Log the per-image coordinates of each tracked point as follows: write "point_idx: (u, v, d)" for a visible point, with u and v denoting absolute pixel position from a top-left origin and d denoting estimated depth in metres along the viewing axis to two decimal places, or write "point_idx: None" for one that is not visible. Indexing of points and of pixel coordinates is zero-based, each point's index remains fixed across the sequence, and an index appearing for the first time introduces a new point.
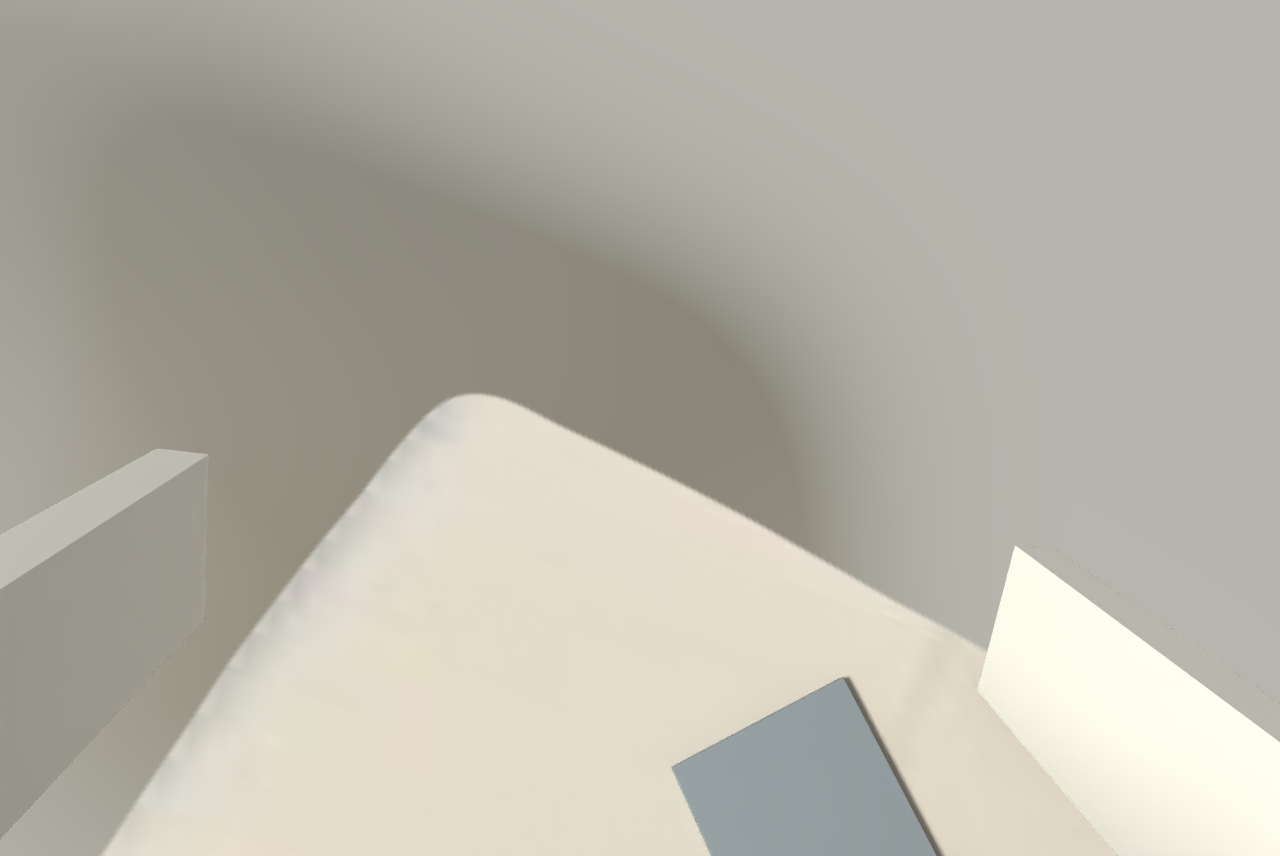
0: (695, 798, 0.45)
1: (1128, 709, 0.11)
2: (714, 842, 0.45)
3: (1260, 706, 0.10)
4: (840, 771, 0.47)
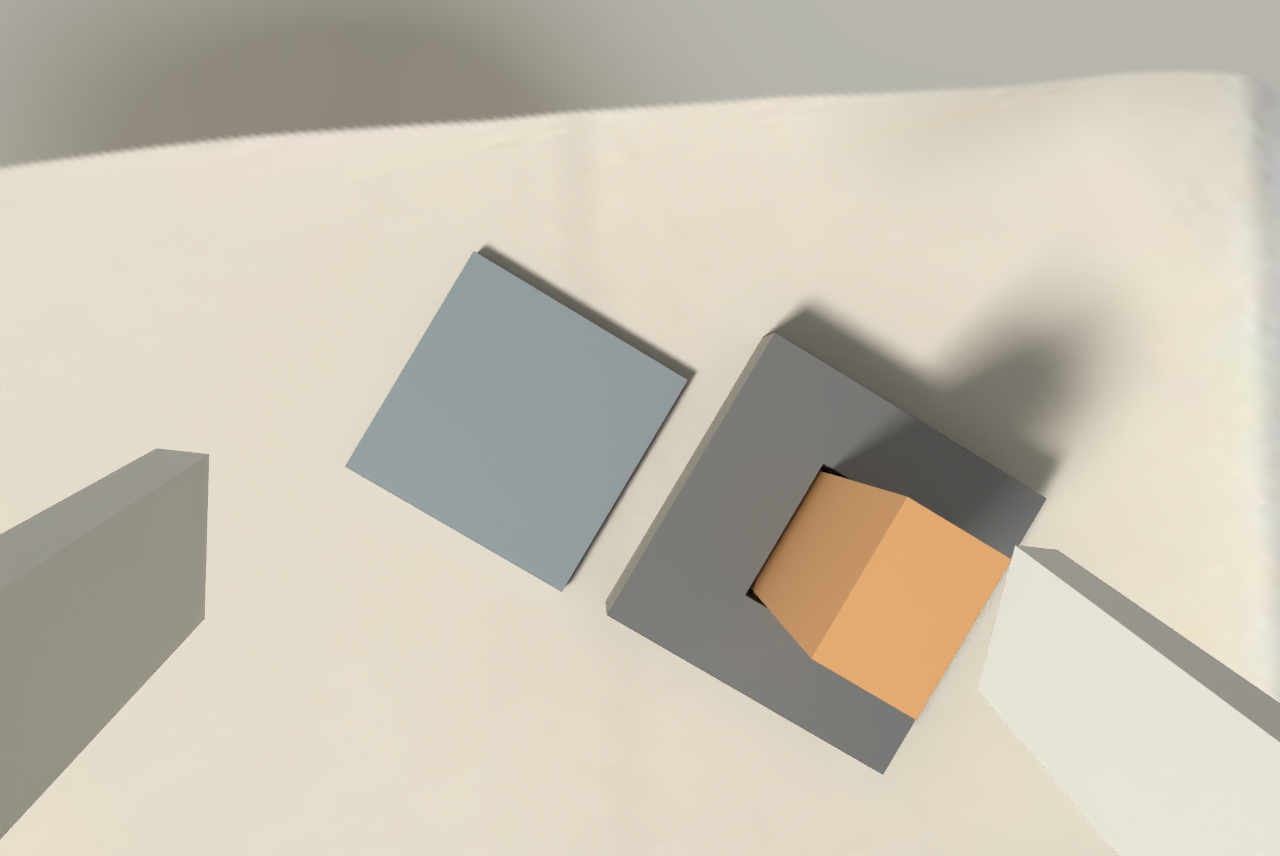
0: (388, 480, 0.37)
1: (1128, 709, 0.11)
2: (433, 508, 0.38)
3: (1260, 706, 0.10)
4: (525, 353, 0.38)
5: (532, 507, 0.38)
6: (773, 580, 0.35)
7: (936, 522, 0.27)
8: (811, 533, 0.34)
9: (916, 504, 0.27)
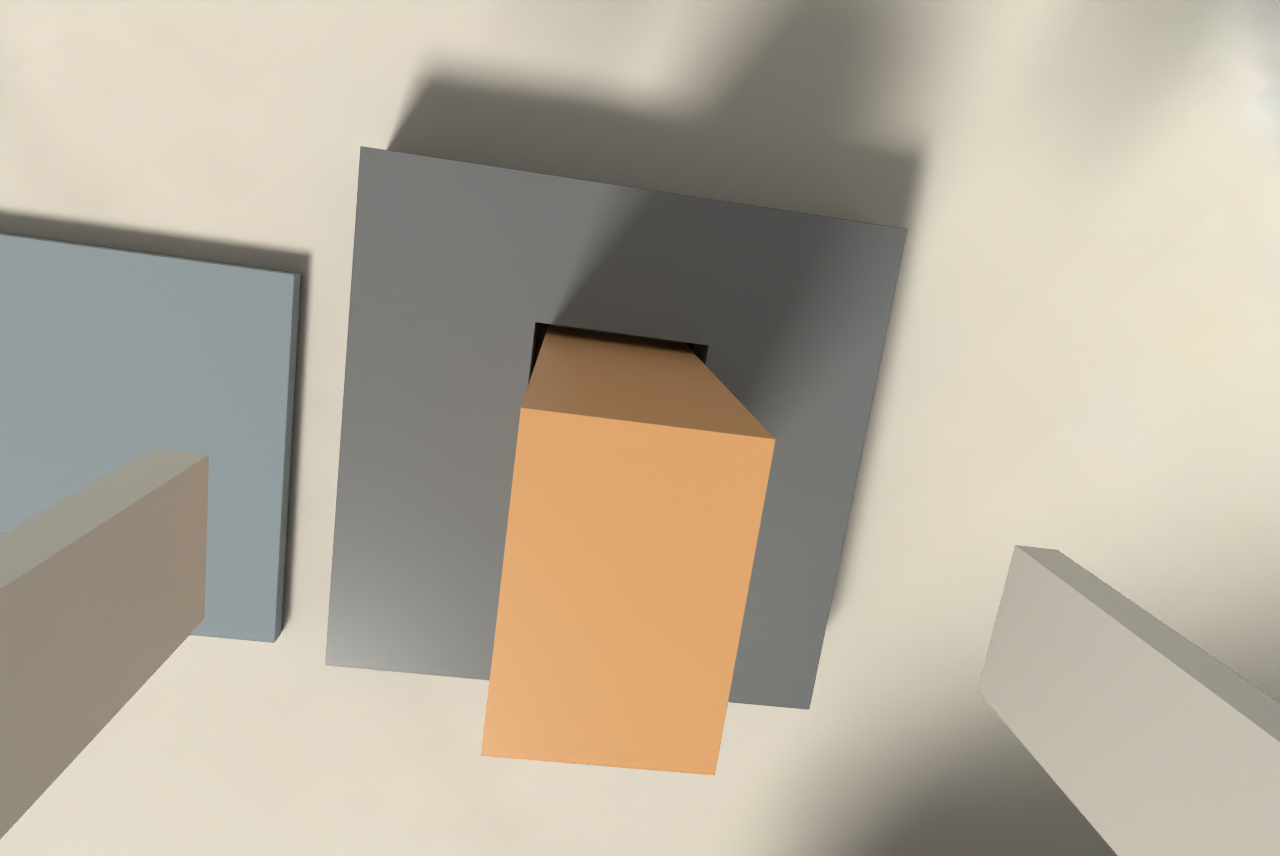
0: None
1: (1128, 708, 0.11)
2: None
3: (1260, 706, 0.10)
4: (32, 338, 0.23)
5: None
6: None
7: (599, 431, 0.13)
8: None
9: (544, 415, 0.13)
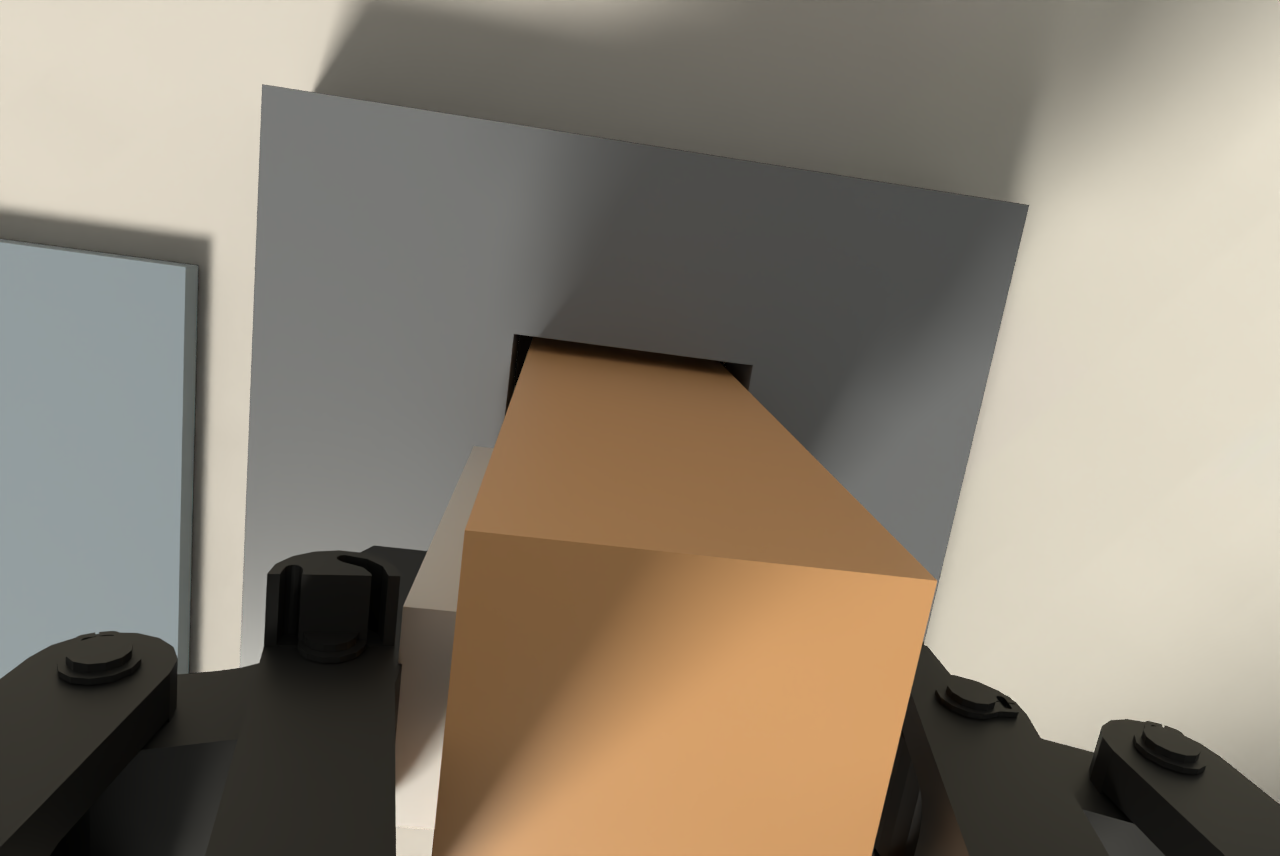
0: None
1: None
2: None
3: None
4: None
5: (33, 634, 0.19)
6: None
7: (614, 572, 0.07)
8: None
9: (509, 544, 0.07)
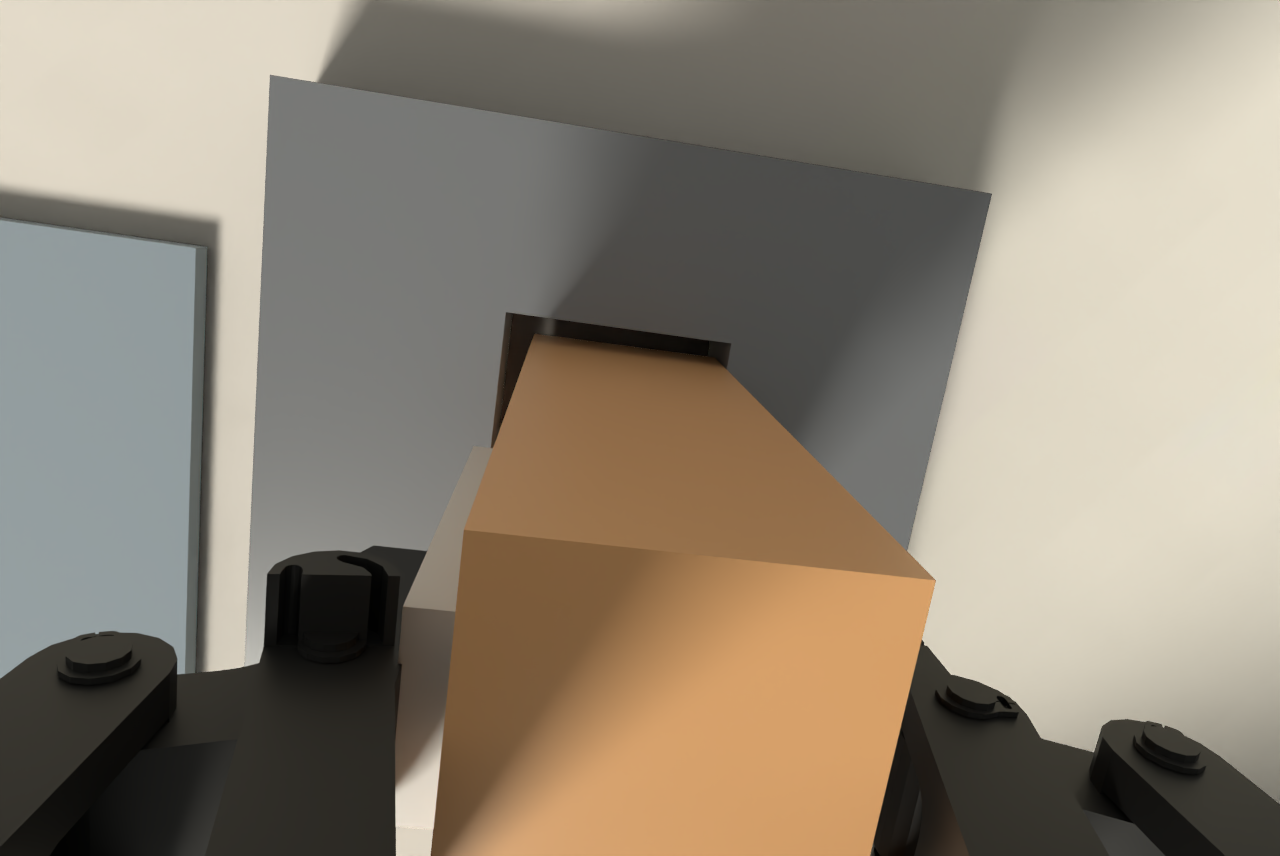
0: None
1: None
2: None
3: None
4: None
5: (49, 597, 0.20)
6: None
7: (613, 570, 0.07)
8: None
9: (508, 543, 0.07)
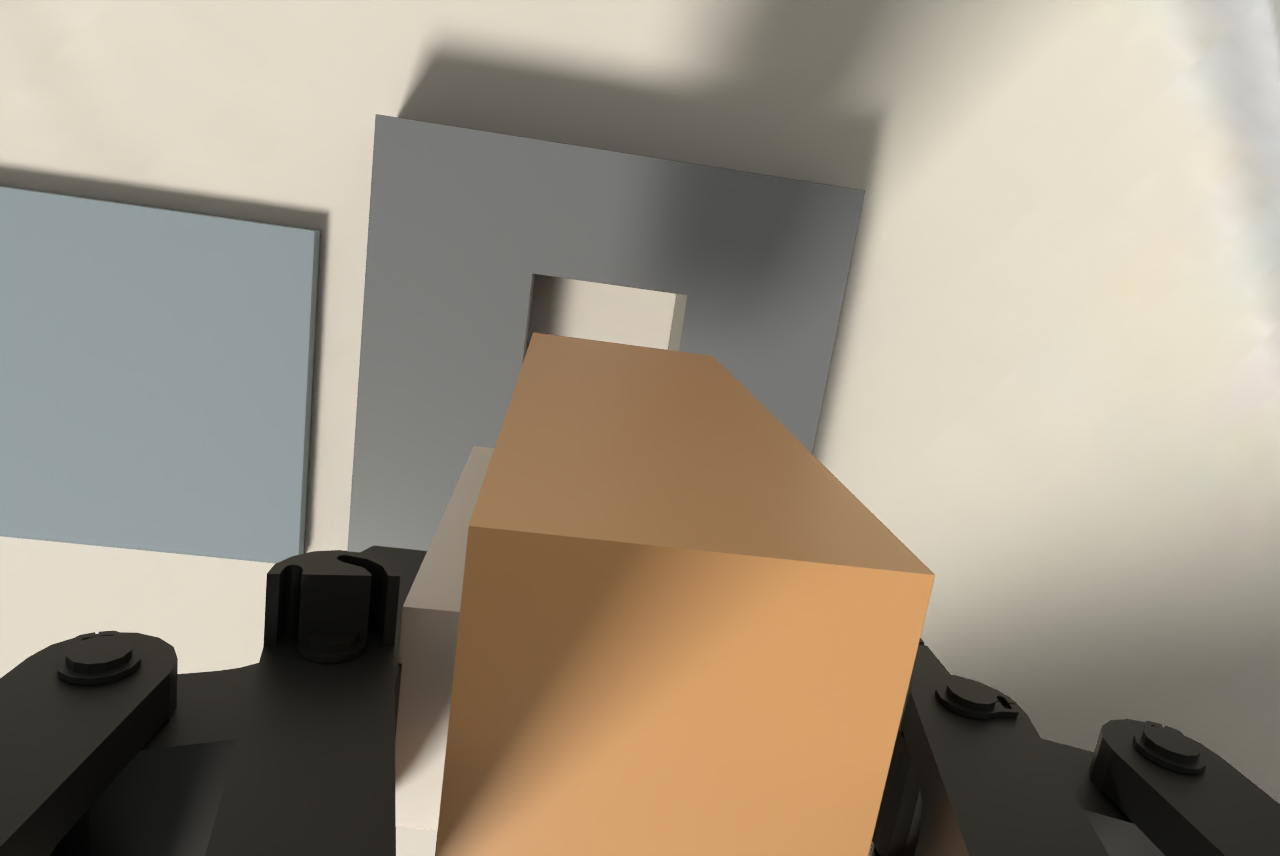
0: (7, 525, 0.27)
1: None
2: (83, 534, 0.28)
3: None
4: (79, 288, 0.26)
5: (204, 482, 0.27)
6: None
7: (617, 566, 0.07)
8: None
9: (513, 540, 0.07)
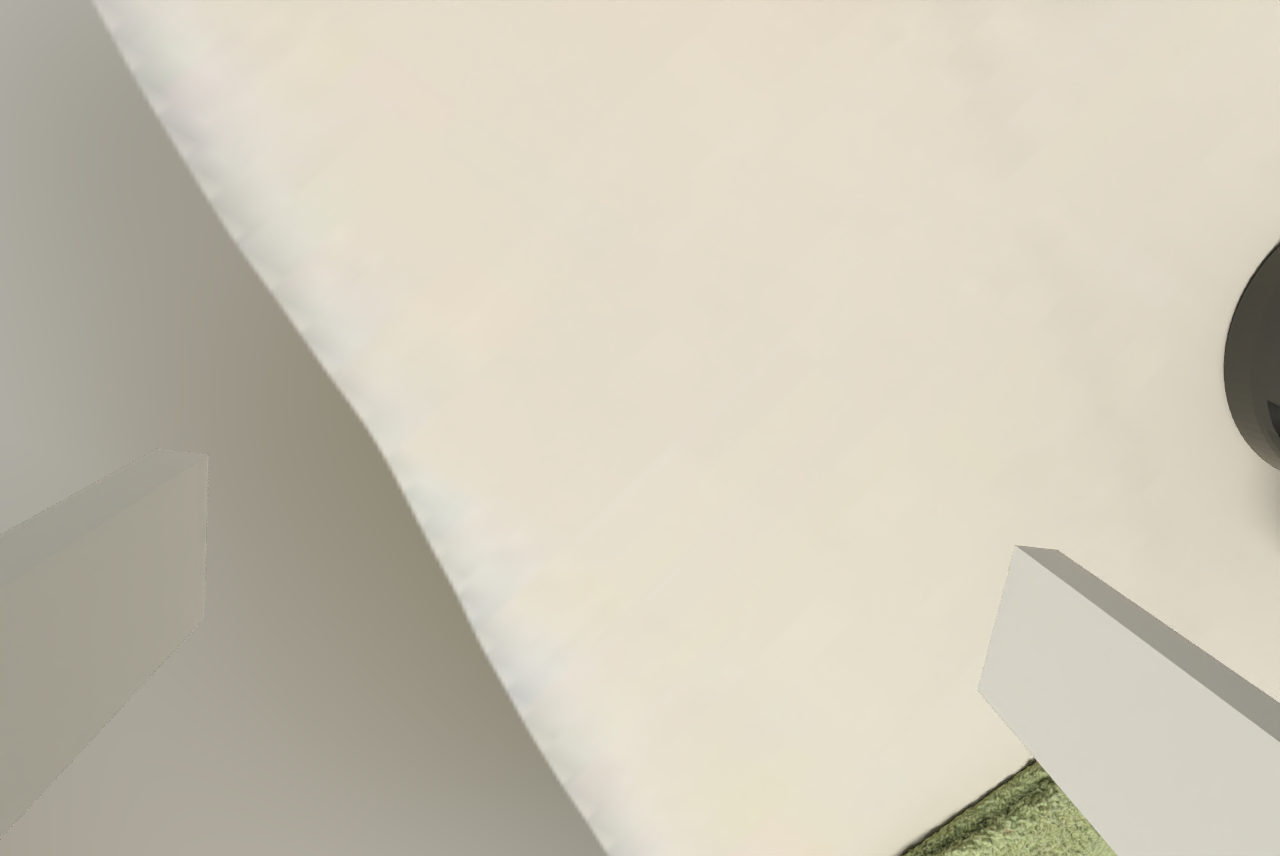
0: None
1: (1128, 709, 0.11)
2: None
3: (1260, 706, 0.10)
4: None
5: None
6: None
7: None
8: None
9: None
